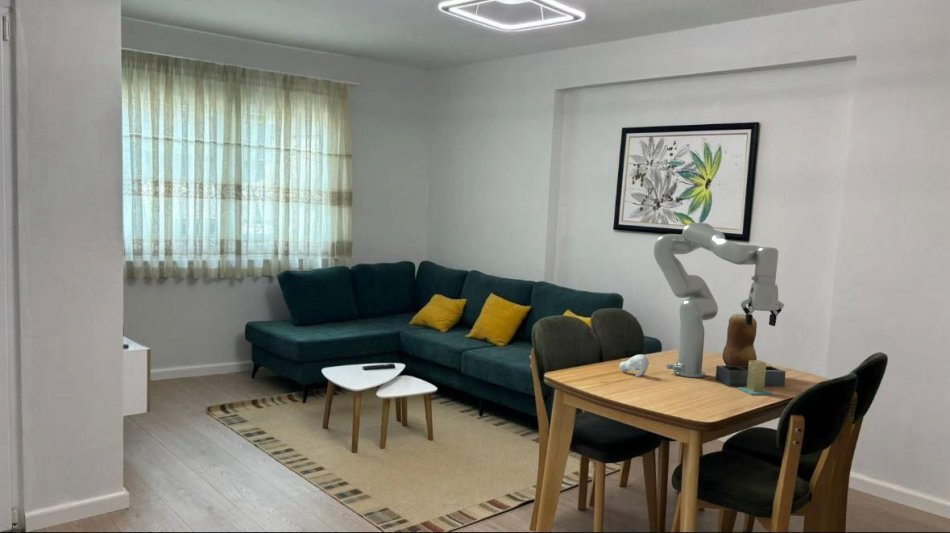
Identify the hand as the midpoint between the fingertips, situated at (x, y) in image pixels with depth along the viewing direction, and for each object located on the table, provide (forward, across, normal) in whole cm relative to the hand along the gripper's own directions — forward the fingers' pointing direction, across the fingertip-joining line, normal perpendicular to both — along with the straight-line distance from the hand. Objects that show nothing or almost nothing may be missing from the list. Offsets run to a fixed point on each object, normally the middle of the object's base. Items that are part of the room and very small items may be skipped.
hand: (760, 325), depth 272 cm
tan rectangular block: (+24, -1, -2) cm, 25 cm away
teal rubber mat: (+25, -1, -2) cm, 25 cm away
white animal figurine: (+26, -39, +25) cm, 53 cm away
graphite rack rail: (+25, +5, +11) cm, 28 cm away
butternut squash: (+26, +10, +29) cm, 40 cm away
